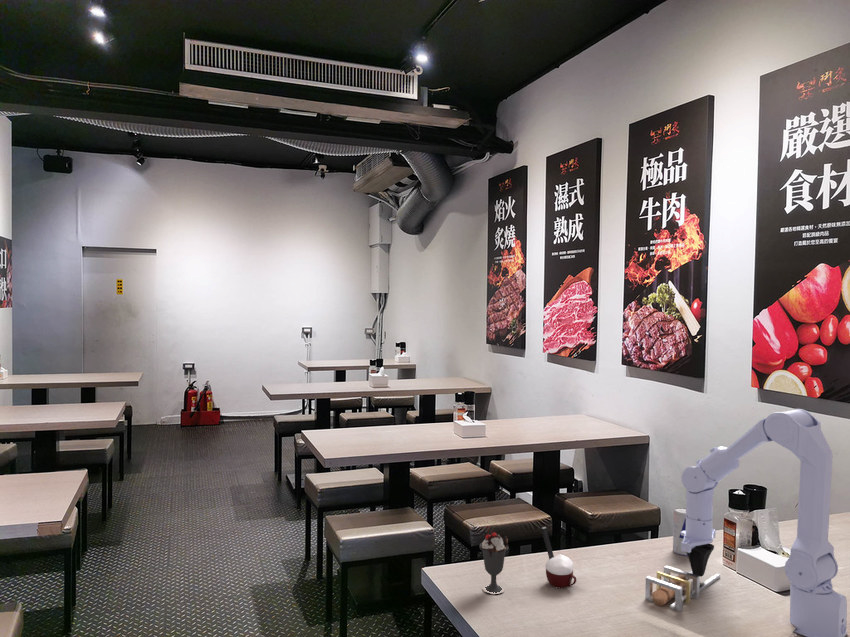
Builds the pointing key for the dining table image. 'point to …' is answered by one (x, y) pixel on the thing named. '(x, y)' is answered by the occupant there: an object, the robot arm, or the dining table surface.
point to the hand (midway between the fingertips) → (698, 574)
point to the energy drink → (679, 529)
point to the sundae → (494, 557)
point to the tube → (667, 592)
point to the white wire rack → (678, 590)
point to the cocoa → (558, 566)
